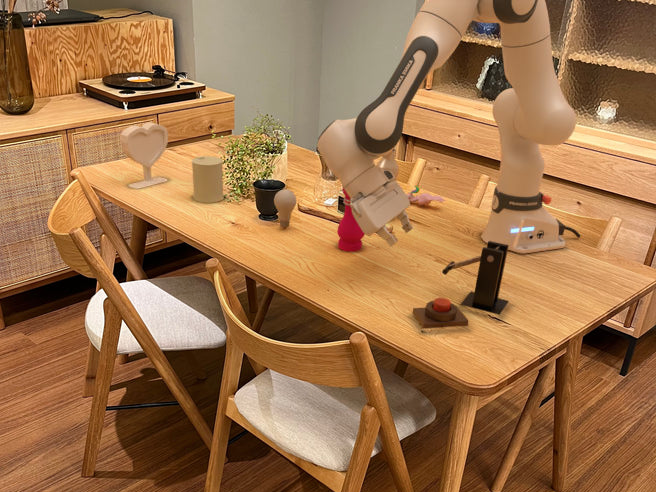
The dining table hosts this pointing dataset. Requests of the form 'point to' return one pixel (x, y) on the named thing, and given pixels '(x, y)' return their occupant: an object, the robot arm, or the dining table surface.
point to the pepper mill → (349, 229)
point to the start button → (442, 305)
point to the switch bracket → (489, 280)
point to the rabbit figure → (423, 197)
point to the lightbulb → (285, 206)
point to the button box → (439, 317)
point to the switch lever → (463, 262)
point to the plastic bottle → (389, 163)
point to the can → (207, 179)
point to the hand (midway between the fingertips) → (402, 237)
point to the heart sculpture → (145, 149)
